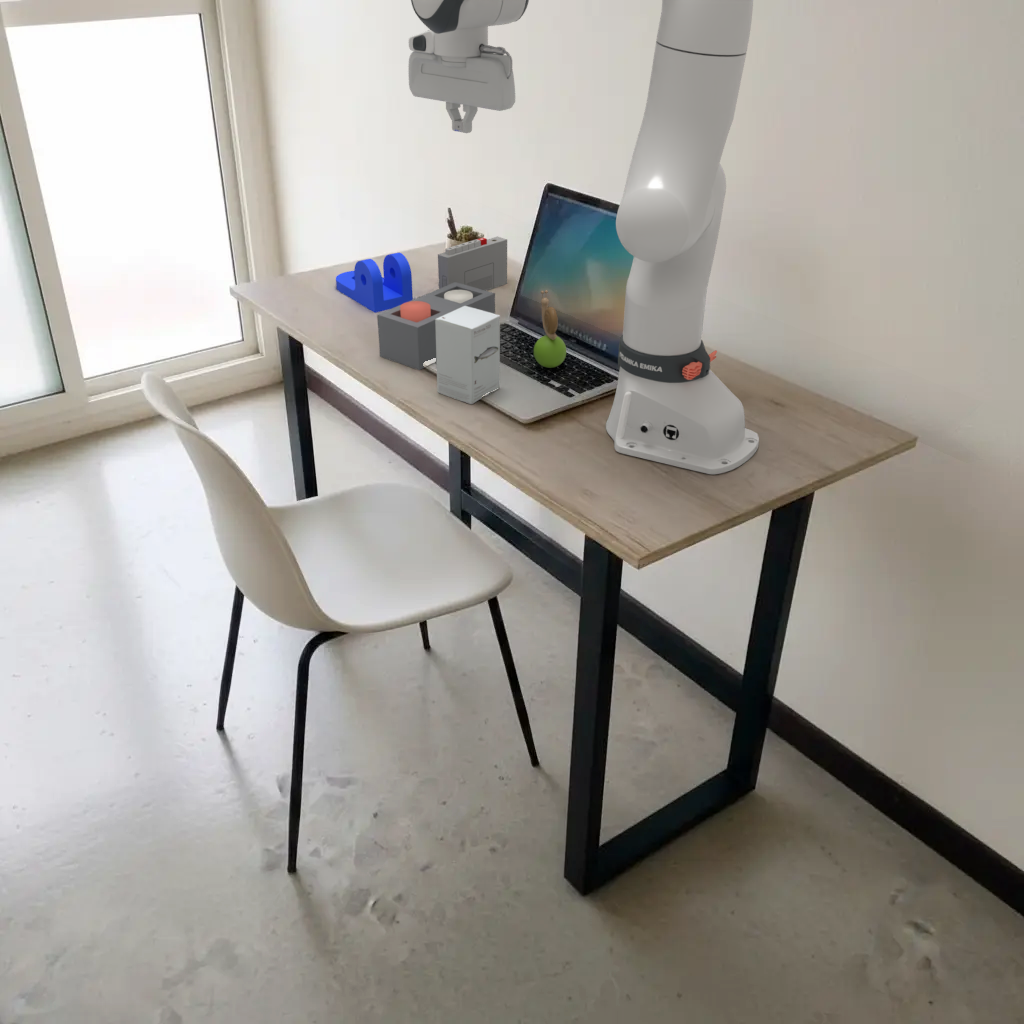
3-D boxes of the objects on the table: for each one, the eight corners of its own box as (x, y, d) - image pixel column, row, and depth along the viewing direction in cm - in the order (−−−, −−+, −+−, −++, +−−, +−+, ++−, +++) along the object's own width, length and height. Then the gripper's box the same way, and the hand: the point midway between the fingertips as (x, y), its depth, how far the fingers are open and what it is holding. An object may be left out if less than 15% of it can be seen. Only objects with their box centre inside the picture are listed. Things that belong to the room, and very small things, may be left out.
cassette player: (497, 280, 211) (497, 231, 206) (507, 284, 209) (507, 234, 204) (439, 300, 201) (437, 249, 196) (448, 303, 200) (447, 252, 195)
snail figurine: (557, 355, 179) (559, 288, 173) (570, 370, 174) (573, 301, 168) (527, 359, 178) (528, 291, 171) (539, 374, 173) (541, 305, 166)
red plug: (437, 342, 179) (436, 305, 175) (418, 351, 175) (416, 314, 172) (416, 334, 181) (414, 298, 178) (396, 343, 178) (393, 307, 174)
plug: (479, 329, 187) (478, 294, 183) (460, 337, 183) (460, 302, 180) (457, 322, 189) (456, 287, 186) (439, 330, 186) (438, 295, 182)
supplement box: (472, 405, 163) (471, 329, 156) (435, 393, 167) (433, 317, 160) (501, 389, 168) (501, 314, 161) (465, 377, 172) (464, 303, 165)
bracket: (412, 304, 200) (410, 258, 195) (374, 313, 196) (371, 266, 191) (366, 277, 212) (362, 233, 207) (329, 286, 208) (325, 241, 203)
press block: (494, 333, 187) (494, 293, 183) (419, 370, 174) (417, 327, 170) (456, 321, 192) (455, 282, 188) (379, 356, 179) (377, 314, 175)
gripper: (524, 45, 165) (523, 137, 172) (426, 33, 176) (429, 120, 183) (499, 50, 161) (499, 144, 168) (400, 37, 171) (404, 126, 179)
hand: (462, 131), depth 176 cm, fingers closed
